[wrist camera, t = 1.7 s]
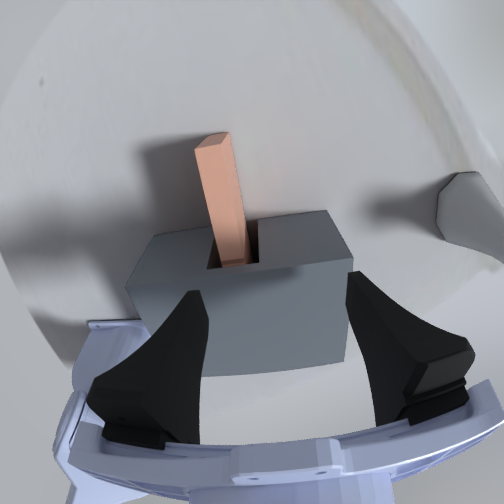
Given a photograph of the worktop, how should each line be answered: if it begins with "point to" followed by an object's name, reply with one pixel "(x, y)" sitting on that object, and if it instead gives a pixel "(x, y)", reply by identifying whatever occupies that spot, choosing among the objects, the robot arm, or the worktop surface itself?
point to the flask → (471, 215)
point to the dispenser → (255, 294)
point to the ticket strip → (224, 199)
